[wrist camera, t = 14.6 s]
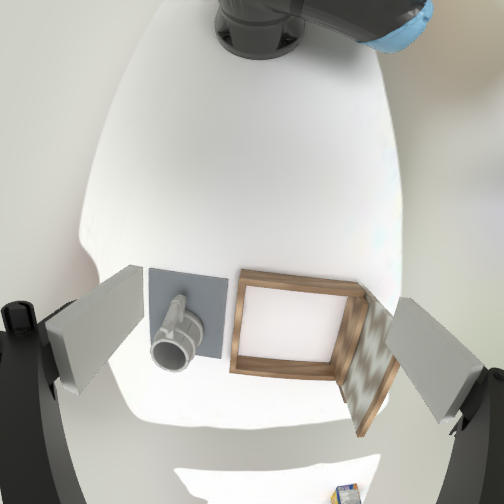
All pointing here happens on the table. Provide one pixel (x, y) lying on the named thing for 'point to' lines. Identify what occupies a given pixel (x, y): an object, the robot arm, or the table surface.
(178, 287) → the slate mat
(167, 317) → the mug
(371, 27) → the robot arm
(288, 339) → the table surface
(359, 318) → the box
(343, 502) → the beverage box
